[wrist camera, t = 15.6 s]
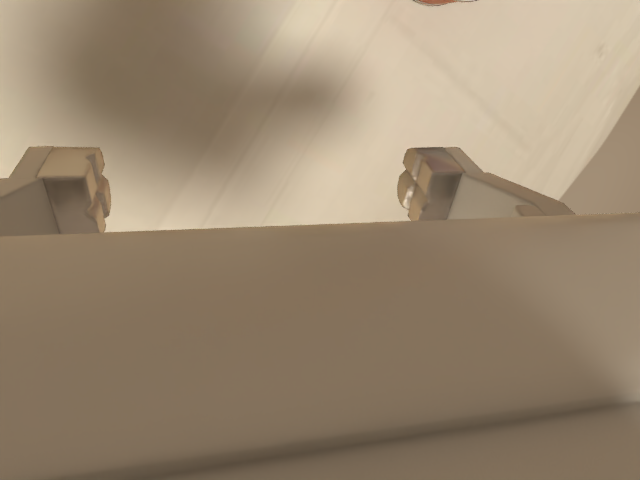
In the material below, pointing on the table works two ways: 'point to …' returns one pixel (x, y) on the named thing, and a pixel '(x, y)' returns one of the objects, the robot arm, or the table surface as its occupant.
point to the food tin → (439, 2)
